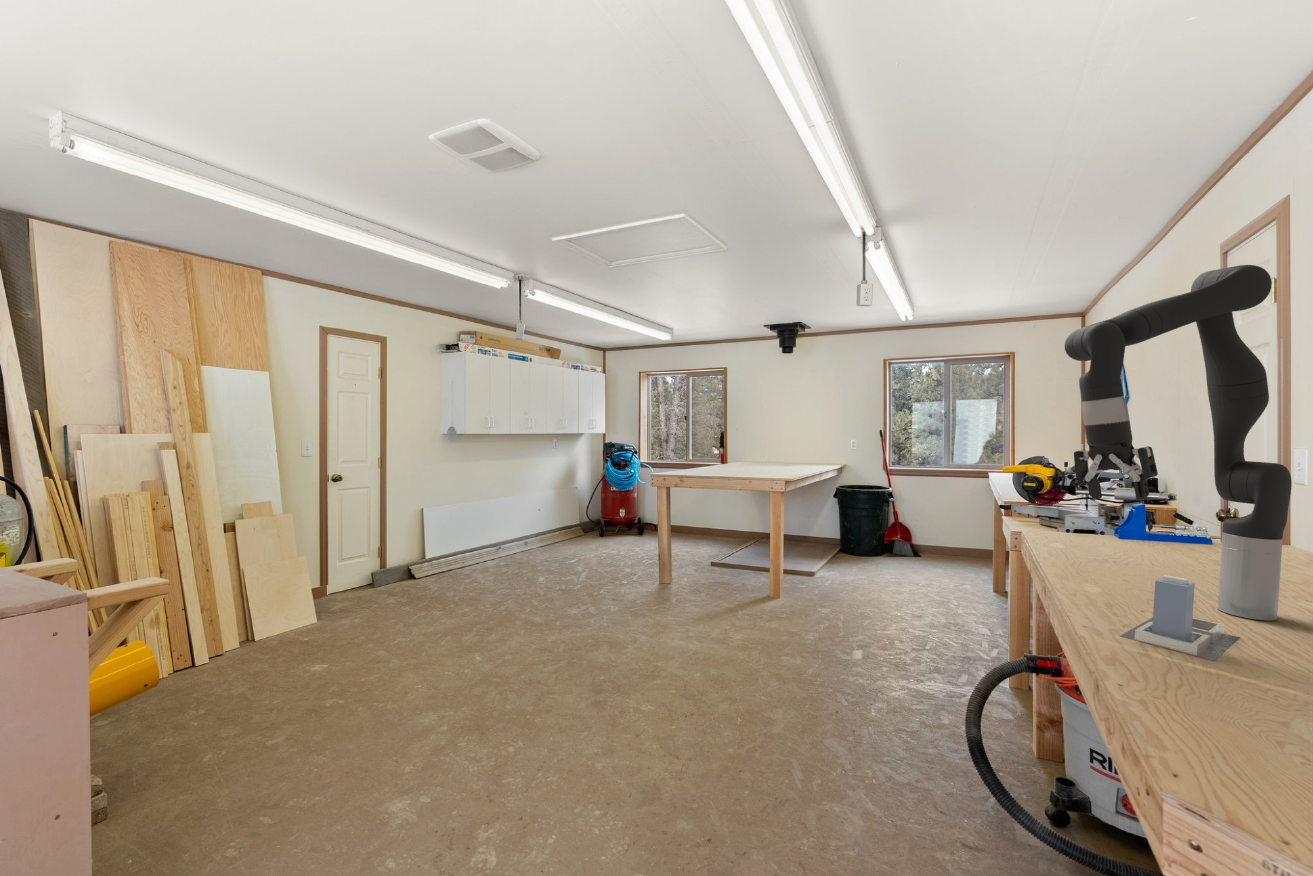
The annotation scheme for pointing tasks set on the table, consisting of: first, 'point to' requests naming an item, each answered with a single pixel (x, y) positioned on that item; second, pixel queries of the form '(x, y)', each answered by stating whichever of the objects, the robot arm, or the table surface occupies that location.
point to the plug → (1173, 608)
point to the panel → (1203, 643)
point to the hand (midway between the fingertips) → (1118, 499)
